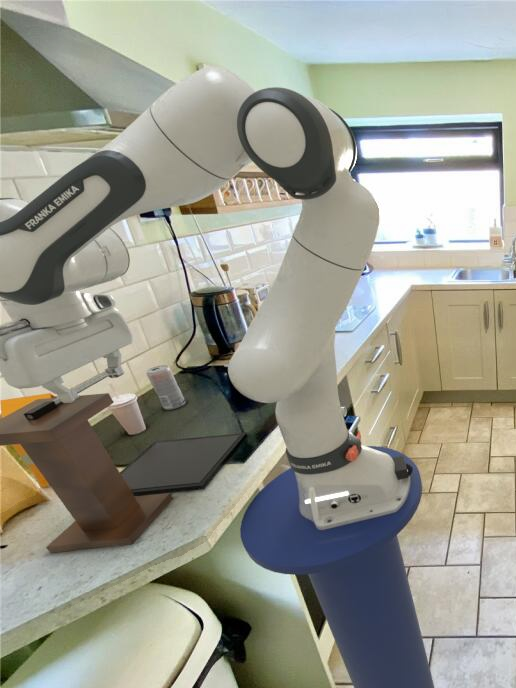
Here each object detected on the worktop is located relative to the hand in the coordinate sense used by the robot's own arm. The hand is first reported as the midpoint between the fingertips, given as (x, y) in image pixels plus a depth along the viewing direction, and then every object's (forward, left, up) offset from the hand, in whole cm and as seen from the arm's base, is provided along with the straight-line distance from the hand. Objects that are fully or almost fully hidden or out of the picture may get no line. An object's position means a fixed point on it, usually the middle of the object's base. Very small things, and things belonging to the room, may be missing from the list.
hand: (96, 387), depth 73 cm
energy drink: (+24, -45, -27) cm, 57 cm away
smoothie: (+26, -32, -27) cm, 49 cm away
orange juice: (+28, -15, -27) cm, 41 cm away
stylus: (+6, -2, -2) cm, 6 cm away
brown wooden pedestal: (+6, +4, -27) cm, 28 cm away
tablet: (+5, -14, -27) cm, 30 cm away
